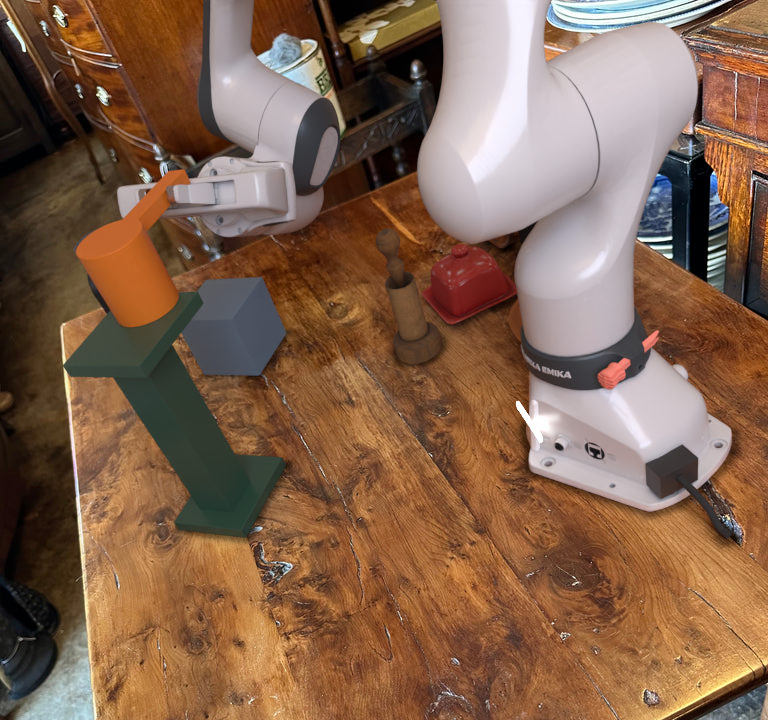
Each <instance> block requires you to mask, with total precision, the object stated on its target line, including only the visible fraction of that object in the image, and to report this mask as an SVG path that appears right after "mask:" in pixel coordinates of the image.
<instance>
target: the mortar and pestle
mask: <svg viewBox="0 0 768 720" xmlns="http://www.w3.org/2000/svg"><path fill="white" fill-rule="evenodd" d="M375 246H376V249H377V250H378V251H379V252H380V253H381V254H382V255H383V256H384V257H385V258H386V260H387V261H386V264H385V268H386V271H387V272H388V274H389V276H388V277H387V278H386V279H385V281H384V286H385V290H386V293H387V296H388V299H389V303H390V307H391V309H392V312H393V313H392V314H393V317H394V319H395V322H396V326H397V331H396V332H395V334H394V335H393V337H392V345H393V349H394V352H395V355H396V358H397V360H398V361H400V362H402V363H404V364H408V365H418V364H423V363H426V362H429V361H430V360H432V359H433V358H434V357H436V356H437V355H438V354H439V353H440V351H441V350H442V348H443V347H442V346H443V341H442V337H441V334H440V333H441V332H440V330H439V328H438V326H437V325H436V324H434V323H432V322H430V321H427V319H426V316H425V311H424V308H423V304H422V300H421V297H420V293H419V289H418V285H417V281H416V278H415V274H414V273H412V272H410V271H405V262H404V260H403V259H402V258H399V250H400V246H401V238H400V235H399V233H398V232H397V231H396V230H395V229H393V228H383V229H381V230H380V231H379V232H378V233H377V235H376V237H375Z"/></svg>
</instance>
